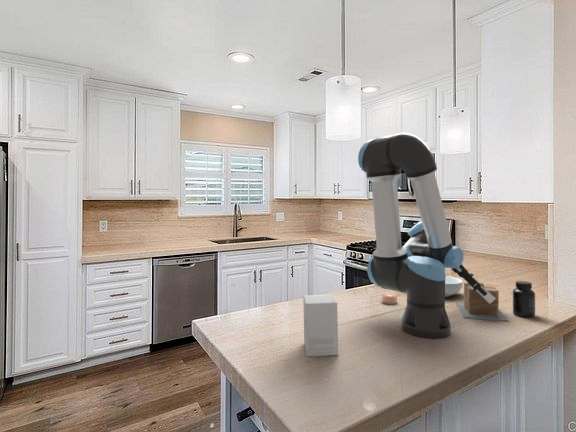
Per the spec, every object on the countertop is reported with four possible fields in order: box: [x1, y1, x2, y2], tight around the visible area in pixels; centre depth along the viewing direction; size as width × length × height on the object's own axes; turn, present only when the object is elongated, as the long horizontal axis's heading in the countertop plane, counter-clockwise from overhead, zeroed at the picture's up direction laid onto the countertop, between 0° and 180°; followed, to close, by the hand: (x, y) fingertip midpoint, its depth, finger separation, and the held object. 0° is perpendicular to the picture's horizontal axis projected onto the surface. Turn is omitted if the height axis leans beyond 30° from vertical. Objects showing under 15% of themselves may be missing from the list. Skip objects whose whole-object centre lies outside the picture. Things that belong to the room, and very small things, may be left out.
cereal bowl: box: [445, 275, 463, 298], centre depth 153 cm, size 17×17×7 cm
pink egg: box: [381, 292, 398, 305], centre depth 142 cm, size 6×6×3 cm
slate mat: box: [455, 302, 510, 322], centre depth 128 cm, size 18×14×1 cm
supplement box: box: [302, 294, 339, 357], centre depth 98 cm, size 9×9×15 cm
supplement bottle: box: [512, 280, 536, 319], centre depth 124 cm, size 7×7×12 cm
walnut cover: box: [463, 282, 500, 316], centre depth 128 cm, size 10×10×10 cm
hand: (487, 296), depth 127 cm, fingers open, 13 cm apart
